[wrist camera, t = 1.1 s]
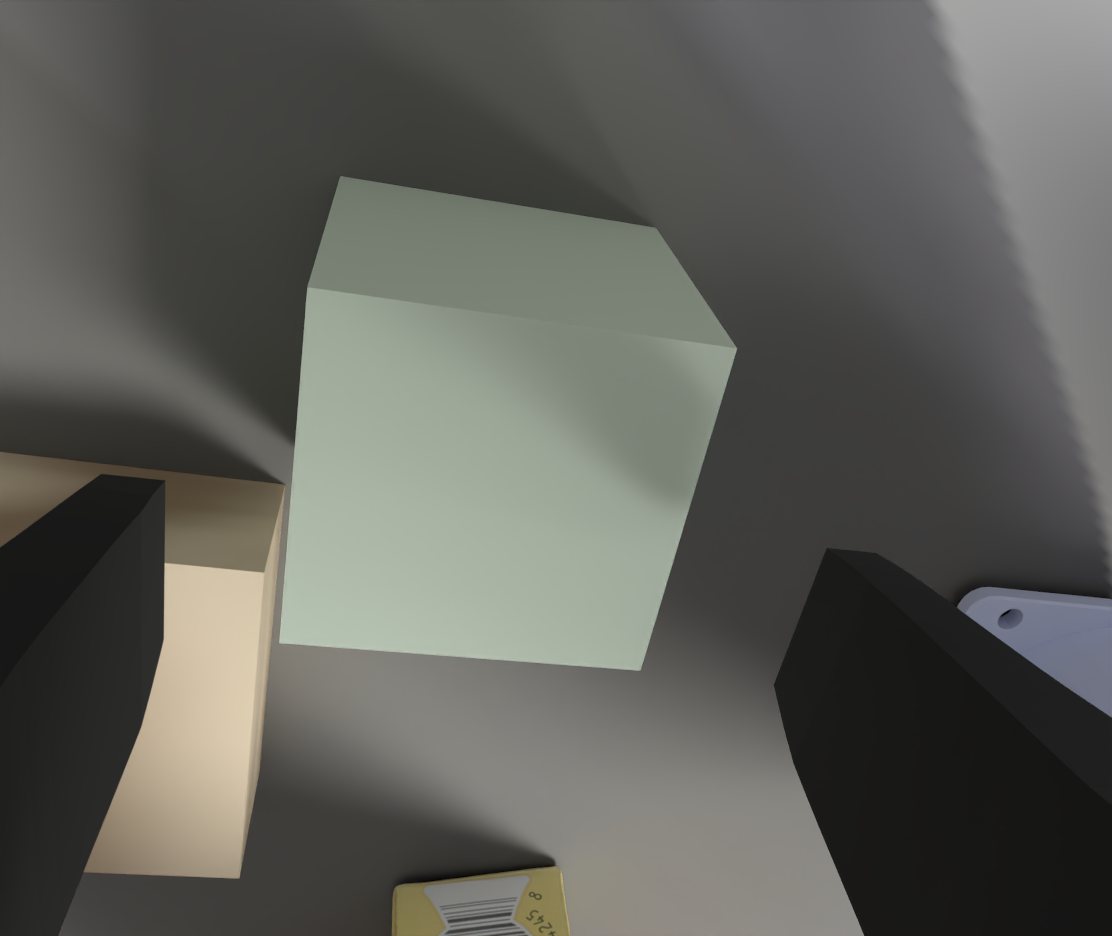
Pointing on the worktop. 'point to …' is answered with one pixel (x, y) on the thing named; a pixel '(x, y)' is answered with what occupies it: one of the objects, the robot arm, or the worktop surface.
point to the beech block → (185, 666)
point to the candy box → (483, 905)
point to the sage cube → (494, 430)
